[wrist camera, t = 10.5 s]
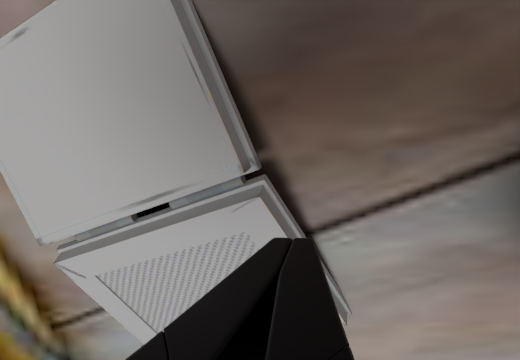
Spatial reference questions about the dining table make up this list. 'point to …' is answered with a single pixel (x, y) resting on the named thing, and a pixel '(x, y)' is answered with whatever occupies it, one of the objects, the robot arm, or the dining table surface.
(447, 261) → the dining table surface
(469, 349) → the dining table surface
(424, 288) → the dining table surface
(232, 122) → the gadget
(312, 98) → the dining table surface
